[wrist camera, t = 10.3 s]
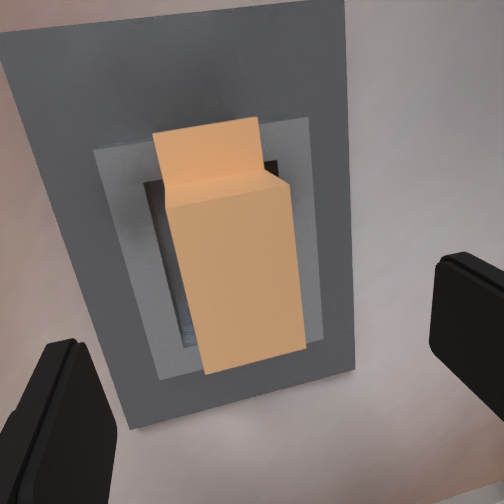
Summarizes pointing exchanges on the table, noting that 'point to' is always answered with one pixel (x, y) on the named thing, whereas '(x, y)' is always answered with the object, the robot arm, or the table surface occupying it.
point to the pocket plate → (153, 190)
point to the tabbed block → (232, 243)
